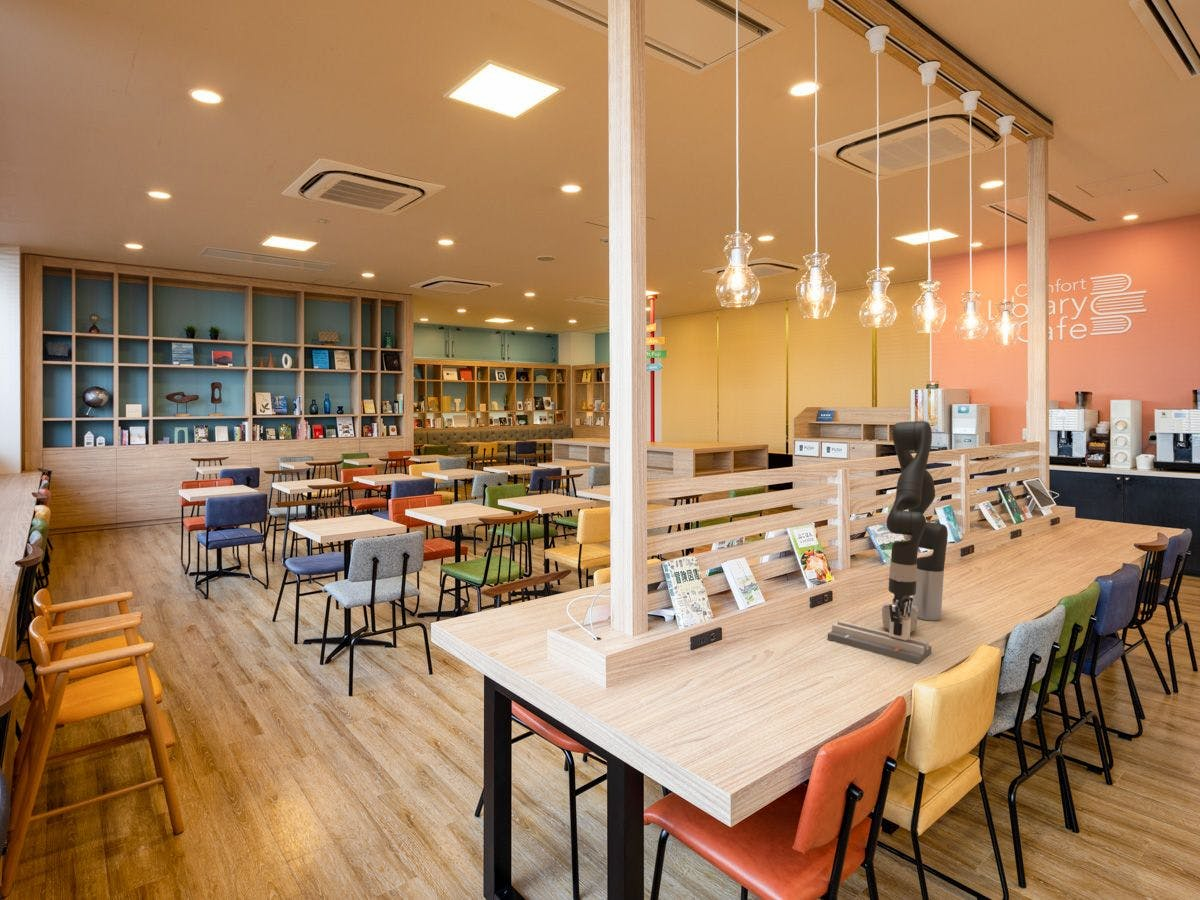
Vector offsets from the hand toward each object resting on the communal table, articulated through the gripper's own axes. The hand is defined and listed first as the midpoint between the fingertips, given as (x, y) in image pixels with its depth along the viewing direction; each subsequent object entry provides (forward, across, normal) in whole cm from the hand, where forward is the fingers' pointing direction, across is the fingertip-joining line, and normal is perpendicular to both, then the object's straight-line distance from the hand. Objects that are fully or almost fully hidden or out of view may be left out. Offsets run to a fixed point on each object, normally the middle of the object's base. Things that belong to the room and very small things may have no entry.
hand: (899, 633), depth 202 cm
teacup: (+6, -20, -6) cm, 22 cm away
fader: (+3, 0, 0) cm, 3 cm away
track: (+6, 0, -6) cm, 8 cm away
